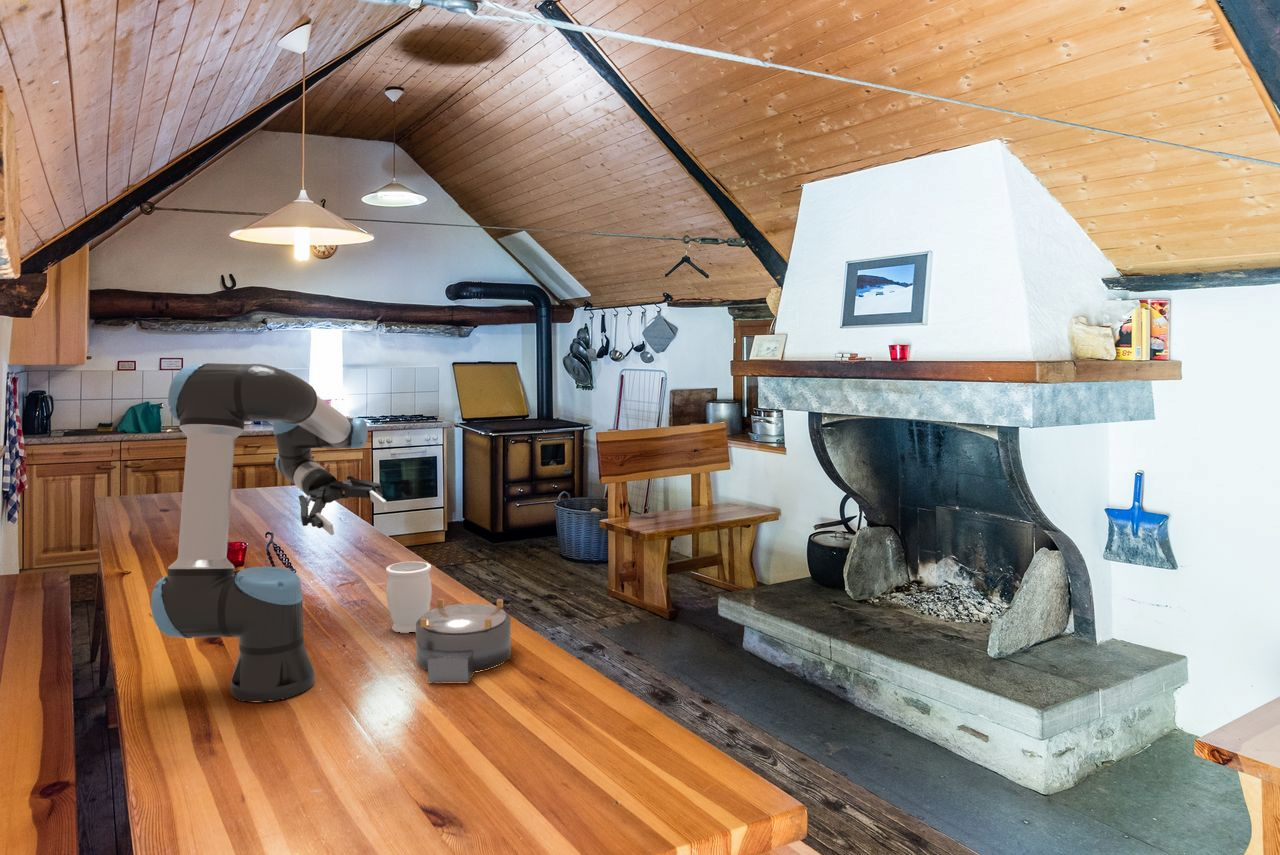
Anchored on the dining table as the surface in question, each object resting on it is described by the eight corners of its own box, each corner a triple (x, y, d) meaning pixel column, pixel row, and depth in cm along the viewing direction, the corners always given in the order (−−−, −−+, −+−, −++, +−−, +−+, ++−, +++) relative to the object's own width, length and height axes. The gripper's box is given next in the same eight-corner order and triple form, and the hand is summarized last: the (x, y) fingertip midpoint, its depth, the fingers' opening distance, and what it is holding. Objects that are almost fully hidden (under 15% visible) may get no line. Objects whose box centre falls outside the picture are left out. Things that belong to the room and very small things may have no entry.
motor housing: (498, 683, 168) (497, 632, 166) (398, 683, 168) (396, 631, 167) (517, 640, 192) (517, 595, 191) (430, 639, 192) (429, 594, 191)
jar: (384, 624, 203) (382, 563, 201) (427, 618, 207) (426, 559, 206) (391, 638, 193) (389, 574, 192) (436, 631, 198) (435, 569, 196)
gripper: (364, 476, 217) (408, 509, 204) (269, 514, 201) (310, 553, 188) (360, 451, 213) (404, 483, 200) (263, 488, 198) (304, 526, 185)
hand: (359, 517), depth 194 cm, fingers open, 13 cm apart
